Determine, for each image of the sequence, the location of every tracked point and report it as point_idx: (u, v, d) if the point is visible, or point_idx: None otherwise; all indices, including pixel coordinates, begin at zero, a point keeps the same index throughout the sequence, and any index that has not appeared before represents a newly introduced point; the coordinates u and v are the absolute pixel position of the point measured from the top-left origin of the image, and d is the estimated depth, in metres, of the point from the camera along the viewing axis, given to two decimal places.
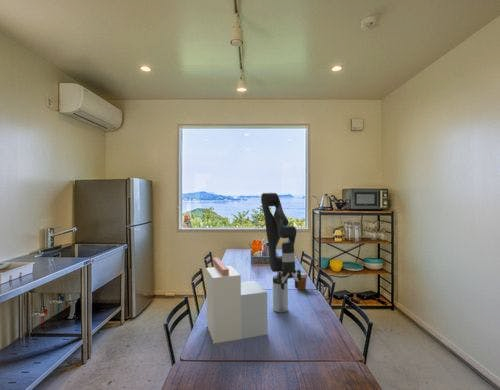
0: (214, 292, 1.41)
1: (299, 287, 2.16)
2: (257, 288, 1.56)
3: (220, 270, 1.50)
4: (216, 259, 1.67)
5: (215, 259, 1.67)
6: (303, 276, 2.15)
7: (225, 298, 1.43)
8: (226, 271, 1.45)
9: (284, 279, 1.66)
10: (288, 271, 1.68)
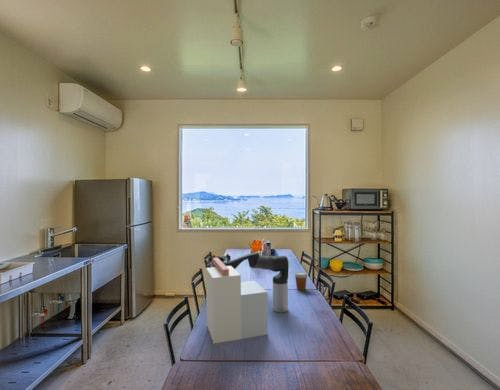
0: (214, 292, 1.41)
1: (299, 287, 2.16)
2: (257, 288, 1.56)
3: (220, 270, 1.50)
4: (216, 259, 1.67)
5: (215, 259, 1.67)
6: (303, 276, 2.15)
7: (225, 298, 1.43)
8: (226, 271, 1.45)
9: (225, 260, 1.90)
10: None
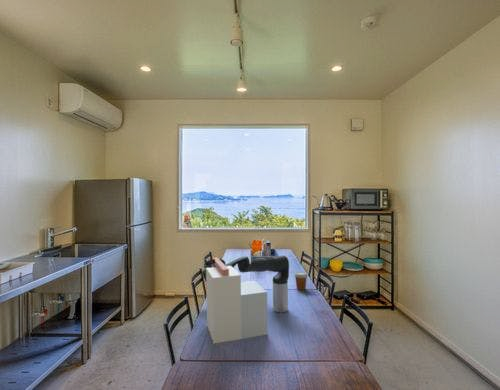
0: (214, 292, 1.41)
1: (299, 287, 2.16)
2: (257, 288, 1.56)
3: (220, 270, 1.50)
4: (216, 259, 1.67)
5: (215, 259, 1.67)
6: (303, 276, 2.15)
7: (225, 298, 1.43)
8: (226, 271, 1.45)
9: None
10: None
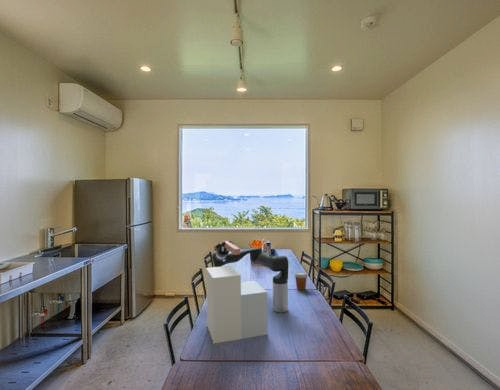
0: (214, 292, 1.41)
1: (299, 287, 2.16)
2: (257, 288, 1.56)
3: (231, 250, 1.62)
4: (226, 242, 1.79)
5: (225, 242, 1.79)
6: (303, 276, 2.15)
7: (225, 298, 1.43)
8: (238, 250, 1.57)
9: None
10: (225, 250, 1.86)
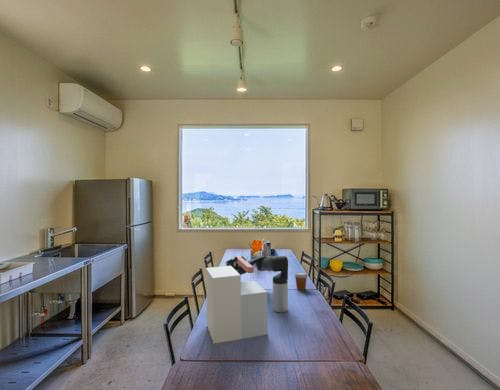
0: (214, 292, 1.41)
1: (299, 287, 2.16)
2: (257, 288, 1.56)
3: (244, 268, 1.57)
4: (238, 257, 1.74)
5: (237, 257, 1.74)
6: (303, 276, 2.15)
7: (225, 298, 1.43)
8: (251, 269, 1.52)
9: None
10: (237, 265, 1.81)
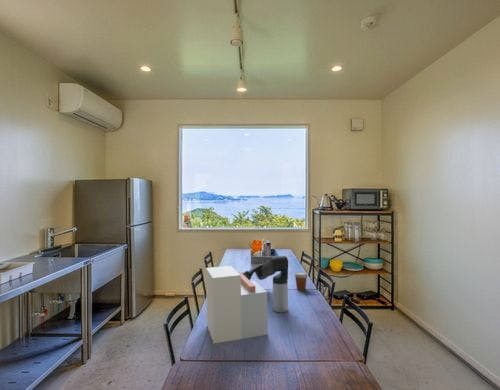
0: (214, 292, 1.41)
1: (299, 287, 2.16)
2: (257, 288, 1.56)
3: (246, 286, 1.55)
4: (240, 274, 1.71)
5: None
6: (303, 276, 2.15)
7: (225, 298, 1.43)
8: (253, 288, 1.50)
9: None
10: None
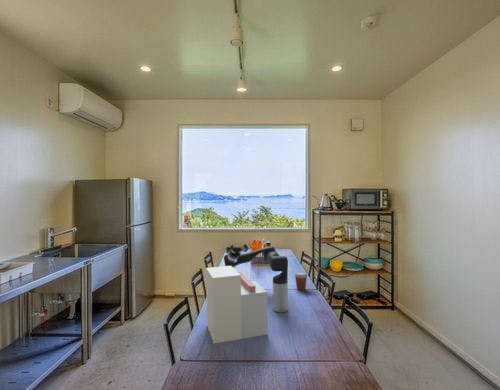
0: (214, 292, 1.41)
1: (299, 287, 2.16)
2: (257, 288, 1.56)
3: (246, 286, 1.55)
4: (240, 274, 1.71)
5: None
6: (303, 276, 2.15)
7: (225, 298, 1.43)
8: (253, 288, 1.50)
9: (242, 250, 1.93)
10: (237, 252, 1.96)
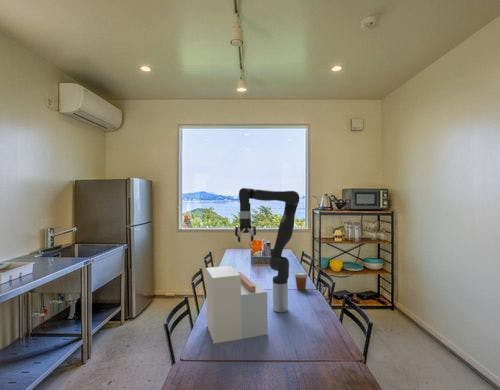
0: (214, 292, 1.41)
1: (299, 287, 2.16)
2: (257, 288, 1.56)
3: (246, 286, 1.55)
4: (240, 274, 1.71)
5: None
6: (303, 276, 2.15)
7: (225, 298, 1.43)
8: (253, 288, 1.50)
9: None
10: None
